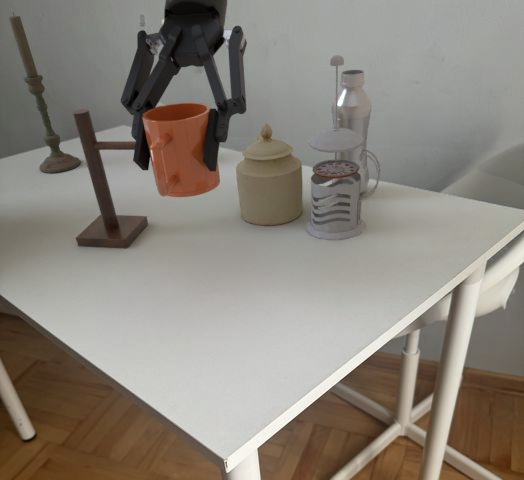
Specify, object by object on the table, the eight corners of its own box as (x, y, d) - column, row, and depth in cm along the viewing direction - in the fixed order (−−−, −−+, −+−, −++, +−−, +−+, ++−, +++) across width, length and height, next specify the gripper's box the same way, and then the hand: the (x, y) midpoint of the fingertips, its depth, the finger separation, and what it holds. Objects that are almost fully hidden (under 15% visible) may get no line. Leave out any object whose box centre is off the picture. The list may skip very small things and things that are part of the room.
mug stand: (77, 245, 89) (37, 120, 77) (102, 222, 96) (69, 103, 84) (152, 249, 86) (123, 119, 74) (172, 224, 93) (148, 102, 81)
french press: (313, 211, 93) (310, 48, 77) (380, 215, 90) (392, 46, 74) (298, 237, 86) (292, 63, 70) (371, 243, 82) (382, 62, 67)
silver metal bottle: (362, 201, 95) (367, 77, 82) (326, 197, 97) (326, 76, 85) (372, 187, 99) (379, 67, 87) (337, 184, 102) (339, 67, 89)
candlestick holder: (84, 157, 126) (42, 7, 107) (76, 171, 119) (29, 12, 100) (45, 161, 126) (-4, 11, 107) (35, 175, 119) (-19, 17, 100)
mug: (171, 172, 74) (158, 102, 68) (227, 173, 72) (219, 101, 66) (133, 210, 64) (115, 133, 59) (197, 212, 63) (185, 133, 57)
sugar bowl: (218, 204, 98) (207, 119, 89) (269, 188, 103) (263, 105, 93) (262, 232, 88) (254, 138, 79) (316, 213, 92) (314, 122, 83)
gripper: (285, 9, 68) (265, 180, 66) (134, 17, 73) (111, 177, 71) (274, -39, 61) (250, 151, 59) (107, -26, 66) (80, 150, 64)
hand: (174, 165), depth 65 cm, fingers closed on mug, 8 cm apart
